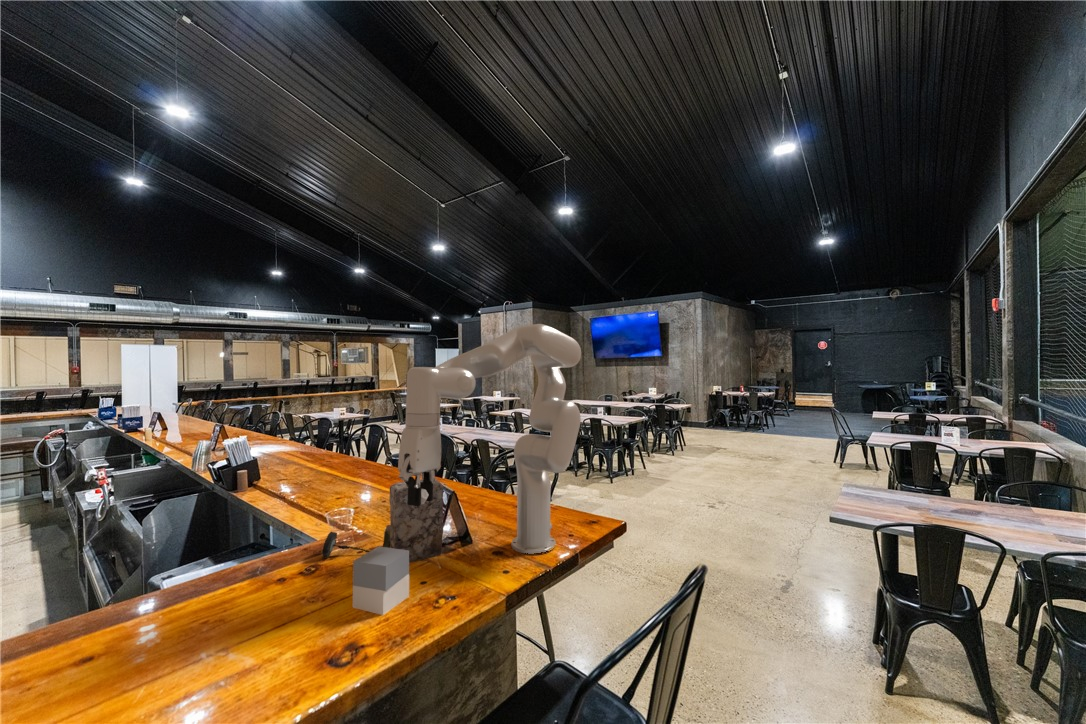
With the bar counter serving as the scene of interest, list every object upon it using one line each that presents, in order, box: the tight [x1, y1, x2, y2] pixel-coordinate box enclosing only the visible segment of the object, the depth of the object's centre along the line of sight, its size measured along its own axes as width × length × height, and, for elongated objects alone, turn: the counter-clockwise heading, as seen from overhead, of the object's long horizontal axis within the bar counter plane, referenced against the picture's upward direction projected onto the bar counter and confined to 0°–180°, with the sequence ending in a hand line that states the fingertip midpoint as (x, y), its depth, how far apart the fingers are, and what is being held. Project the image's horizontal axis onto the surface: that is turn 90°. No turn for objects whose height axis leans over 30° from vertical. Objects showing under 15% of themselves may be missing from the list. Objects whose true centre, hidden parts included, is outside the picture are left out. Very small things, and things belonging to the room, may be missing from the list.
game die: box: [421, 489, 429, 504], centre depth 96 cm, size 4×4×3 cm
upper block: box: [352, 546, 410, 591], centre depth 91 cm, size 8×8×5 cm
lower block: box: [352, 573, 410, 616], centre depth 91 cm, size 8×8×5 cm
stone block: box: [388, 478, 444, 564], centre depth 113 cm, size 13×7×20 cm, turn 128°
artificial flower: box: [321, 524, 391, 559], centre depth 117 cm, size 9×22×10 cm, turn 99°
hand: (420, 501), depth 96 cm, fingers closed on game die, 3 cm apart
